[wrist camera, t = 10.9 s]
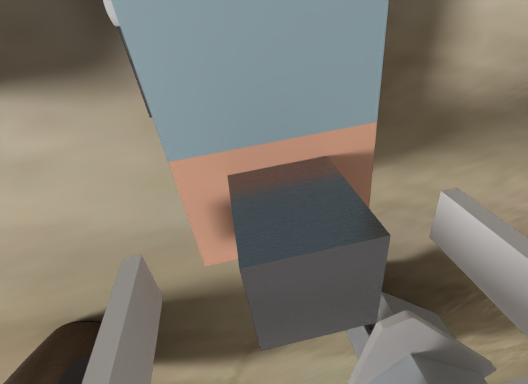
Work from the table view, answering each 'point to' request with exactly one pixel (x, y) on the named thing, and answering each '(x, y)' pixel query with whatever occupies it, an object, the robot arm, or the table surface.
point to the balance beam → (255, 92)
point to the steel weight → (306, 251)
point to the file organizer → (412, 349)
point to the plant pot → (57, 354)
